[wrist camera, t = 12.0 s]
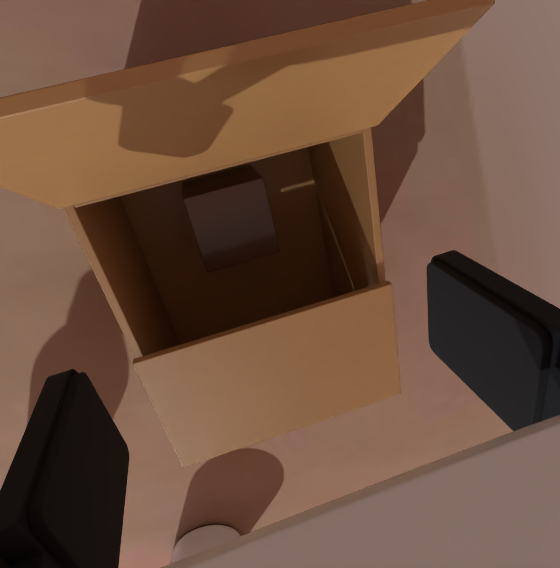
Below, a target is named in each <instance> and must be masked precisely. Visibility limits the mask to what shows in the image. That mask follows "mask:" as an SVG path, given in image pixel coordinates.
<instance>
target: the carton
mask: <svg viewBox="0 0 560 568" xmlns="http://www.w3.org/2000/svg"><path fill="white" fill-rule="evenodd" d="M247 165H251V166H252V167H253V168H254V169H255V170H256V171H257V172H258V173H259V174H260V175H261V176H262V177H263V178H264V182H265V186H266V191H267V195H268V200H269V204H270V208H271V213H272V217H273V222H274V226H275V230H276V235H277V239H278V244H279V248H280V252H277V253H274V254H270V255H267V256H264V257H260V258H257V259H253V260H250V261H246V262H243V263H239V264H236V265H232V266H229V267H225V268H222V269H219V270H215V271H212V272H208V273H207V272H206V269H205V266H204V263H203V260H202V257H201V254H200V251H199V248H198V244H197V241H196V238H195V235H194V232H193V229H192V226H191V223H190V220H189V217H188V214H187V211H186V208H185V205H184V202H183V195H182V182H186V181H189V180H193V179H197V178H201V177H205V176H208V175H212V174H216V173H220V172H224V171H227V170H231V169H235V168H239V167H243V166H247ZM63 209H64V211H65V213H66V215H67V217H68V219H69V222H70V224H71V226H72V228H73V230H74V232H75V234H76V236H77V238H78V240H79V242H80V244H81V246H82V249H83V251H84V253H85V255H86V257H87V259H88V261H89V263H90V265H91V267H92V269H93V271H94V274H95V276H96V278H97V280H98V282H99V284H100V286H101V288H102V290H103V292H104V294H105V296H106V299H107V301H108V303H109V305H110V307H111V309H112V311H113V313H114V315H115V317H116V319H117V321H118V323H119V326H120V328H121V330H122V332H123V334H124V336H125V338H126V340H127V342H128V344H129V346H130V348H131V351H132V353H133V355H134V357H135V359H133V366H134V368H135V370H136V372H137V374H138V376H139V378H140V380H141V382H142V384H143V386H144V388H145V390H146V392H147V394H148V397H149V399H150V401H151V403H152V405H153V407H154V409H155V411H156V413H157V415H158V417H159V419H160V421H161V423H162V425H163V427H164V429H165V431H166V433H167V435H168V437H169V439H170V442H171V444H172V446H173V448H174V450H175V452H176V454H177V456H178V458H179V460H180V462H181V464H182V466H183V467H187V466H190V465H193V464H196V463H199V462H202V461H204V460H207V459H210V458H213V457H216V456H219V455H222V454H225V453H228V452H231V451H234V450H237V449H240V448H243V447H246V446H248V445H251V444H254V443H257V442H260V441H263V440H266V439H269V438H272V437H275V436H278V435H281V434H284V433H287V432H289V431H292V430H295V429H298V428H301V427H304V426H307V425H310V424H313V423H316V422H319V421H322V420H325V419H328V418H330V417H333V416H336V415H339V414H342V413H345V412H348V411H351V410H354V409H357V408H360V407H363V406H366V405H369V404H371V403H374V402H377V401H380V400H383V399H386V398H389V397H392V396H395V395H398V394H401V384H400V373H399V361H398V349H397V338H396V326H395V315H394V303H393V292H392V284H391V283H390V282H389V281H386V280H385V269H384V259H383V248H382V237H381V227H380V216H379V206H378V195H377V185H376V174H375V163H374V153H373V142H372V132H371V127H370V128H366V129H362V130H358V131H355V132H351V133H347V134H343V135H339V136H335V137H332V138H328V139H324V140H320V141H316V142H312V143H309V144H305V145H301V146H297V147H293V148H289V149H286V150H282V151H278V152H274V153H270V154H266V155H263V156H259V157H255V158H251V159H247V160H243V161H240V162H236V163H232V164H228V165H224V166H220V167H217V168H213V169H209V170H205V171H201V172H197V173H194V174H190V175H186V176H182V177H178V178H175V179H171V180H167V181H163V182H159V183H155V184H152V185H148V186H144V187H140V188H136V189H132V190H129V191H125V192H121V193H117V194H113V195H109V196H106V197H102V198H98V199H94V200H90V201H86V202H83V203H79V204H75V205H71V206H67V207H63Z"/></svg>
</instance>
